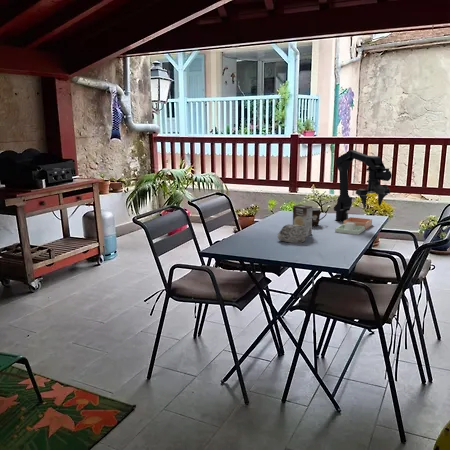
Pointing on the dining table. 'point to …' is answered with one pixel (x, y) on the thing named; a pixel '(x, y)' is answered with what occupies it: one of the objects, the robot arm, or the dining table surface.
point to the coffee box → (303, 217)
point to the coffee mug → (316, 216)
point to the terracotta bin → (360, 221)
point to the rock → (292, 233)
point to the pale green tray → (357, 230)
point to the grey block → (350, 226)
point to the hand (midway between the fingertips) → (372, 206)
